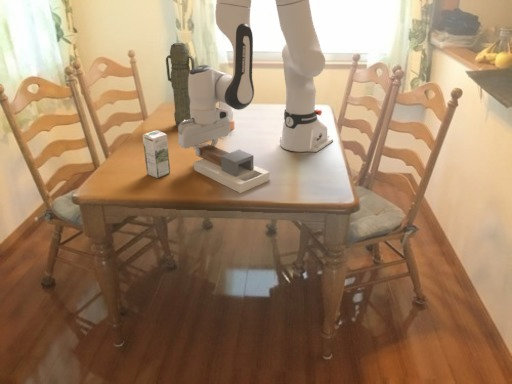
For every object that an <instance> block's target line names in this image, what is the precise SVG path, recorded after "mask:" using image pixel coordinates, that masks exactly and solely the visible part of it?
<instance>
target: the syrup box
mask: <svg viewBox="0 0 512 384" xmlns="http://www.w3.org/2000/svg"><path fill="white" fill-rule="evenodd" d="M168 144H169V143H168V134H166V133H165V132H162V131H160V130H153V131H150V132H147V133H144V134H142V145H143V151H144V160H145V168H146V174H147V175H148V176H151V177H153V178H157V179H159V178H162V177H165V176H167V175H169V174H170V173H171V167H170V166H171V165H170V156H169V145H168Z"/></svg>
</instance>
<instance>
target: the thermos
mask: <svg viewBox="0 0 512 384" xmlns="http://www.w3.org/2000/svg"><path fill="white" fill-rule="evenodd" d="M169 59H170V63H169ZM190 62H191V67H190ZM165 65H166V74H167V75H166V76H167V81H169V82H170V84H171V88H172V91H173V92H172V93H173V103H174V104H173V105H174V113H173V116H174V121H175V128H177V129H178V126H179V124H180V123H181V122H182V121H184V120H188V119H191V116H190V97H189V91H188V77H189V72H190V70H191V69H193V68H194V67H196V65H195V58H194V56H193V55H190V53H189V49H188V46H187V44H185V43H183V42H174V43H172V44H171V45H170V49H169V55H167V56H166V57H165ZM170 65H171V67H170ZM170 69H171V70H170Z"/></svg>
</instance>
